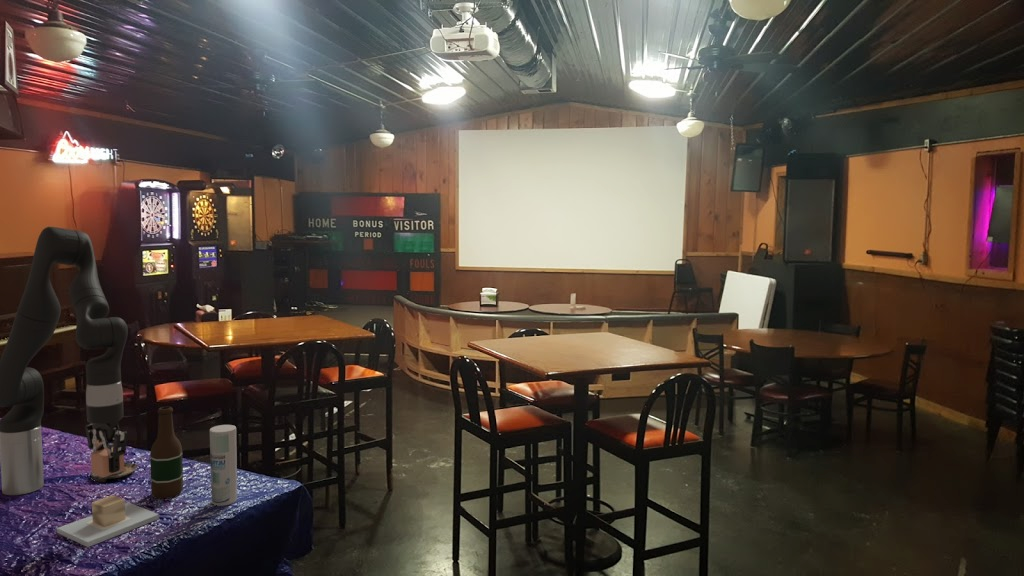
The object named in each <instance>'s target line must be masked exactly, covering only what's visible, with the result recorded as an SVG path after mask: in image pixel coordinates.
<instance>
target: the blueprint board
mask: <svg viewBox="0 0 1024 576" xmlns="http://www.w3.org/2000/svg"><path fill="white" fill-rule="evenodd" d="M159 519H160V514H158V513H156V512H154V511H151V510H150V509H147V508H144V507H141V506H138V505H136V504H133V503H130V502H125V520H122V521H119V522H117V523H114V524H112V525H109V526H106V527H103V526H101V525H98V524H96V523H94V522H93V518H92V515H88V516H87V517H84V518H82V519H81V518H80V519H79V520H76V521H72V522H70V523H67V524H65V525H62V526H58V527H57V528H56V533H57V534H58V535H61V536H63V537H65V538H67V539H69V540H72V541H74V542H76V543H78V544H80V545H82V546H85V547H86V548H90V547H92V546H95V545H97V544H99V543H102V542H105V541H108V540H109V539H112V538H115V537H117V536H119V535H123V534H125V533H127V532H130V531H132V530H134V529H137V528H139V527H142V526H146V525H147V524H149V523H152V522H155V521H157V520H159Z"/></svg>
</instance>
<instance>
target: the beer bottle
mask: <svg viewBox="0 0 1024 576" xmlns="http://www.w3.org/2000/svg"><path fill="white" fill-rule="evenodd" d="M173 411H174V409H173V407H172V406H162V407H161V406H160V407H159V408H158V410H157V414H158V423H157V436H156V438H155V441H154V442H153V444H152V446H151V448H150V454H149V455H150V456H149V457H150V459H149V461H150V462H149V463H150V490H151V496H152V497H154V498H155V499H159V500H161V499H170V498H173V497H177V496H179V495H180V494H181V493H182V491H183V490H184V466H183V465H184V462H183V460H184V458H183V446H182V444H181V441H180V440H179V438H178V437H177V436H176V434H175V430H174V429H175V428H174V419H173Z"/></svg>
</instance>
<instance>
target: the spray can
mask: <svg viewBox="0 0 1024 576" xmlns="http://www.w3.org/2000/svg"><path fill="white" fill-rule="evenodd" d="M237 449H238V448H237V427H236V426H235V425H232V424H221V425H220V424H219V425H215V426H212V427H211V428H210V429H209V450H210V451H209V452H210V486H211V487H210V488H211V489H210V490H211V504H212V505H213V504H214V505H213V506H216V505H217V506H218V507H222V506H228V505H229V506H230V505H232V504H234V503H236V502H237V500H238V482H237V481H238V480H237V479H238V474H237V473H238V470H237V469H238V468H237V467H238V466H237V465H238V463H237V461H238V459H237V453H238V452H237Z"/></svg>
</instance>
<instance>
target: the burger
mask: <svg viewBox="0 0 1024 576" xmlns="http://www.w3.org/2000/svg"><path fill="white" fill-rule="evenodd" d="M138 466H139V465H137V464H136V463H132V462H126V461H124V471H122V472H119V473H116V474H112V475H109V476H106V477H101V476H98V475H96V474H93V473H92V471H91V472H90V479H91V478H92V479H93V480H95V482H96V481H98V482H97V483H102V482H104V483H106V481H107V479H108V480H112V479H118V478H123V477H126V476H128V475H129V474H132V473H133V472H134V471H136V469H137V468H138ZM91 476H92V477H91Z"/></svg>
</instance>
